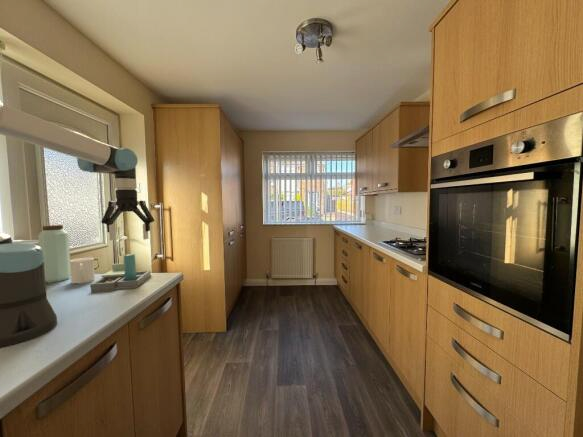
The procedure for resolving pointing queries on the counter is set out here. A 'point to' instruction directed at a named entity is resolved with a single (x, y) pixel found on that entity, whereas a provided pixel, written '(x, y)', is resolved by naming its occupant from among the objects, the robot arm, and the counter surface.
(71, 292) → the counter surface
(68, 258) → the water bottle
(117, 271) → the cover
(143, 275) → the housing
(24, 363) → the counter surface
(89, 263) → the mug
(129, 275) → the pin
